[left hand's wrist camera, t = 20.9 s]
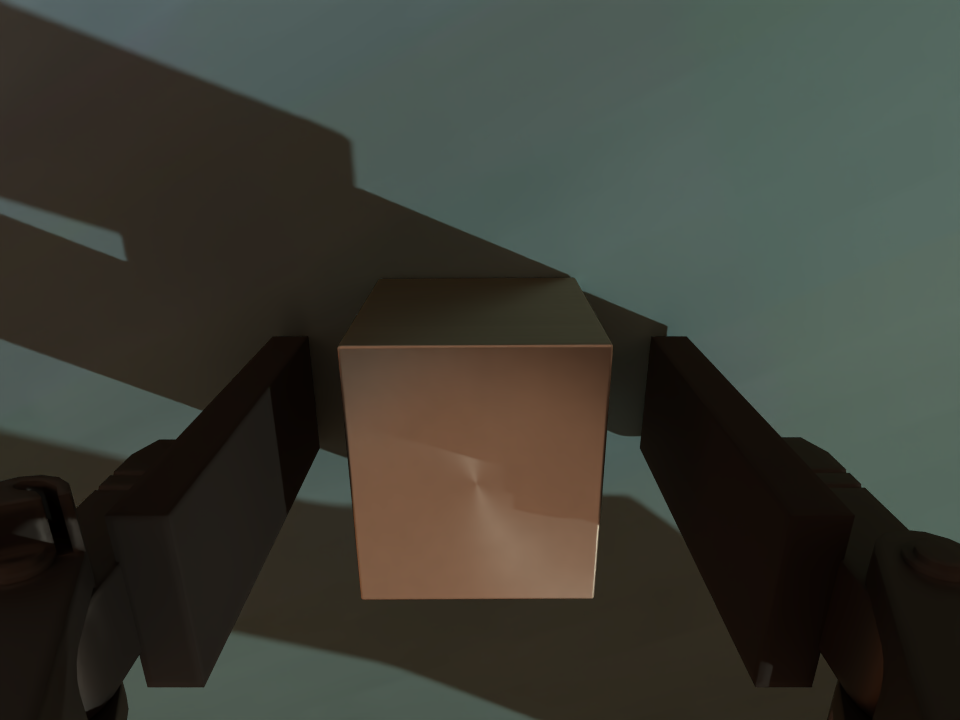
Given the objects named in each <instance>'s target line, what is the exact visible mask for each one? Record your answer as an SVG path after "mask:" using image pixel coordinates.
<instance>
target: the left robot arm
mask: <svg viewBox="0 0 960 720" xmlns="http://www.w3.org/2000/svg"><path fill="white" fill-rule="evenodd" d="M319 448H320V447H319V437H318V428H317V418H316V408H315V399H314V389H313V379H312V370H311V360H310V350H309V340H308V337H272V338H271V339H270V340H269V341H268V342H267V343H266V344H265V346H264V347H263V348H262V349H261V350H260V351H259V352H258V353H257V354H256V355H255V356H254V357H253V358H252V359H251V360H250V361H249V363H248V364H247V365H246V366H245V367H244V368H243V369H242V370H241V371H240V372H239V373H238V374H237V375H236V376H235V377H234V378H233V379H232V381H231V382H230V383H229V384H228V385H227V386H226V387H225V388H224V389H223V390H222V391H221V392H220V393H219V394H218V395H217V396H216V398H215V399H214V400H213V401H212V402H211V403H210V404H209V405H208V406H207V407H206V408H205V409H204V410H203V411H202V412H201V413H200V415H199V416H198V417H197V418H196V419H195V420H194V421H193V422H192V423H191V424H190V425H189V426H188V427H187V428H186V429H185V430H184V432H183V433H182V434H181V435H180V436H179V437H178V438H177V439H176V440H158V441H156V442H154V443H152V444H150V445H148V446H147V447H145V448H143V449H141V450H139V451H137V452H136V453H134V454H132V455H131V456H130V457H129V458H128V459H127V460H126V461H125V462H124V463H123V464H122V465H121V466H119V467H118V468H117V469H116V470H115V471H114V475H110V476H109V477H108V478H107V479H106V480H105V481H104V482H103V483H102V484H101V485H100V486H99V490H95V491H94V492H93V493H92V494H91V495H90V496H89V497H88V498H86V499H85V500H84V501H83V502H82V503H81V504H80V505H79V506H78V507H77V508H76V507H75V504H74V500H73V496H72V493H71V489H70V485H69V483H67V482H66V481H64V480H62V479H61V478H59V477H52V476H45V475H37V476H25V477H17V478H13V479H8V480H4V481H0V720H127V715H128V703H127V696H126V692H125V688H124V685H123V680H124V678H125V677H126V675H127V673H128V672H129V670H130V669H131V667H132V666H133V664H134V662H135V661H136V659H137V658H138V656H139V655H140V659H141V663H142V667H143V671H144V675H145V679H146V683H147V687H204V686H205V684H206V682H207V680H208V678H209V676H210V674H211V672H212V670H213V668H214V666H215V664H216V662H217V659H218V657H219V655H220V653H221V651H222V649H223V647H224V645H225V643H226V641H227V639H228V637H229V635H230V633H231V630H232V628H233V626H234V624H235V622H236V620H237V618H238V616H239V614H240V612H241V610H242V608H243V606H244V604H245V601H246V599H247V597H248V595H249V593H250V591H251V589H252V587H253V585H254V583H255V581H256V579H257V577H258V575H259V573H260V570H261V568H262V566H263V564H264V562H265V560H266V558H267V556H268V554H269V552H270V550H271V548H272V546H273V544H274V541H275V539H276V537H277V535H278V533H279V531H280V529H281V527H282V525H283V523H284V521H285V519H286V517H287V515H288V512H289V510H290V508H291V506H292V504H293V502H294V500H295V498H296V496H297V494H298V492H299V490H300V488H301V486H302V483H303V481H304V479H305V477H306V475H307V473H308V471H309V469H310V467H311V465H312V463H313V461H314V459H315V457H316V455H317V452H318V450H319ZM640 449H641V451H642V453H643V455H644V458H645V460H646V462H647V464H648V466H649V468H650V470H651V472H652V474H653V476H654V478H655V480H656V482H657V484H658V487H659V489H660V491H661V493H662V495H663V497H664V499H665V501H666V503H667V505H668V507H669V509H670V511H671V513H672V516H673V518H674V520H675V522H676V524H677V526H678V528H679V530H680V532H681V534H682V536H683V538H684V540H685V542H686V545H687V547H688V549H689V551H690V553H691V555H692V557H693V559H694V561H695V563H696V565H697V567H698V569H699V571H700V574H701V576H702V578H703V580H704V582H705V584H706V586H707V588H708V590H709V592H710V594H711V596H712V598H713V600H714V603H715V605H716V607H717V609H718V611H719V613H720V615H721V617H722V619H723V621H724V623H725V625H726V627H727V629H728V632H729V634H730V636H731V638H732V640H733V642H734V644H735V646H736V648H737V650H738V652H739V654H740V656H741V658H742V661H743V663H744V665H745V667H746V669H747V671H748V673H749V675H750V677H751V679H752V681H753V683H754V685H755V687H812V684H813V680H814V676H815V672H816V668H817V664H818V660H819V657H820V653H821V654H822V655H823V657H824V658H825V660H826V661H827V663H828V665H829V666H830V668H831V669H832V671H833V672H834V674H835V676H836V677H837V679H838V681H837V685H836V688H835V692H834V696H833V700H832V703H831V707H830V711H829V714H828V718H827V720H960V544H959V543H957V542H955V541H953V540H951V539H948V538H944V537H941V536H937V535H934V534H930V533H926V532H919V531H909V530H908V529H907V528H906V527H905V526H904V525H903V524H902V523H901V522H900V521H899V520H898V519H897V518H896V517H895V516H894V515H893V514H892V513H891V512H890V511H889V510H888V509H886V508H885V507H884V506H883V505H882V504H881V503H880V502H879V501H878V500H877V499H876V498H875V497H874V496H873V495H872V494H871V493H870V492H869V491H868V490H867V489H866V488H861V483H859V482H858V481H857V480H856V479H855V478H854V477H853V476H852V475H851V474H850V473H846V469H845V468H844V467H843V466H842V465H841V464H840V463H839V462H838V461H837V460H836V459H835V458H834V457H832V456H831V455H830V454H829V453H828V452H827V451H825V450H823V449H821V448H819V447H817V446H816V445H814V444H812V443H810V442H808V441H806V440H805V439H803V438H801V437H781V436H780V435H779V434H778V433H777V432H776V431H775V430H774V429H773V428H772V427H771V426H770V425H769V424H768V423H767V421H766V420H765V419H764V418H763V417H762V416H761V415H760V414H759V413H758V412H757V411H756V410H755V409H754V408H753V407H752V406H751V404H750V403H749V402H748V401H747V400H746V399H745V398H744V397H743V396H742V395H741V394H740V393H739V392H738V391H737V390H736V389H735V387H734V386H733V385H732V384H731V383H730V382H729V381H728V380H727V379H726V378H725V377H724V376H723V375H722V374H721V373H720V372H719V370H718V369H717V368H716V367H715V366H714V365H713V364H712V363H711V362H710V361H709V360H708V359H707V358H706V357H705V356H704V355H703V353H702V352H701V351H700V350H699V349H698V348H697V347H696V346H695V345H694V344H693V343H692V342H691V341H690V340H689V339H688V338H687V336H651V345H650V355H649V365H648V374H647V384H646V394H645V404H644V413H643V423H642V433H641V442H640Z"/></svg>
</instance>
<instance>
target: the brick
mask: <svg viewBox="0 0 960 720" xmlns="http://www.w3.org/2000/svg"><path fill="white" fill-rule="evenodd" d="M337 351H338V362H339V372H340V383H341V393H342V404H343V414H344V424H345V435H346V445H347V456H348V466H349V477H350V487H351V498H352V508H353V519H354V529H355V540H356V550H357V561H358V571H359V582H360V592H361V598H362V599H363V600H408V599H592V598H594V596H595V583H596V570H597V556H598V543H599V530H600V517H601V503H602V490H603V477H604V463H605V450H606V437H607V423H608V410H609V397H610V384H611V370H612V357H613V345H612V343H611V341H610V339H609V337H608V336H607V334H606V332H605V330H604V329H603V327H602V325H601V323H600V322H599V320H598V318H597V316H596V315H595V313H594V311H593V309H592V307H591V306H590V304H589V302H588V300H587V299H586V297H585V295H584V293H583V292H582V290H581V288H580V286H579V285H578V283H577V281H576V279H575V278H424V279H379V280H378V281H377V283H376V285H375V286H374V288H373V290H372V291H371V293H370V294H369V296H368V298H367V299H366V301H365V303H364V304H363V306H362V308H361V309H360V311H359V312H358V314H357V316H356V317H355V319H354V321H353V322H352V324H351V326H350V327H349V329H348V330H347V332H346V334H345V335H344V337H343V339H342V340H341V342H340V344H339V345H338V348H337Z"/></svg>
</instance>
